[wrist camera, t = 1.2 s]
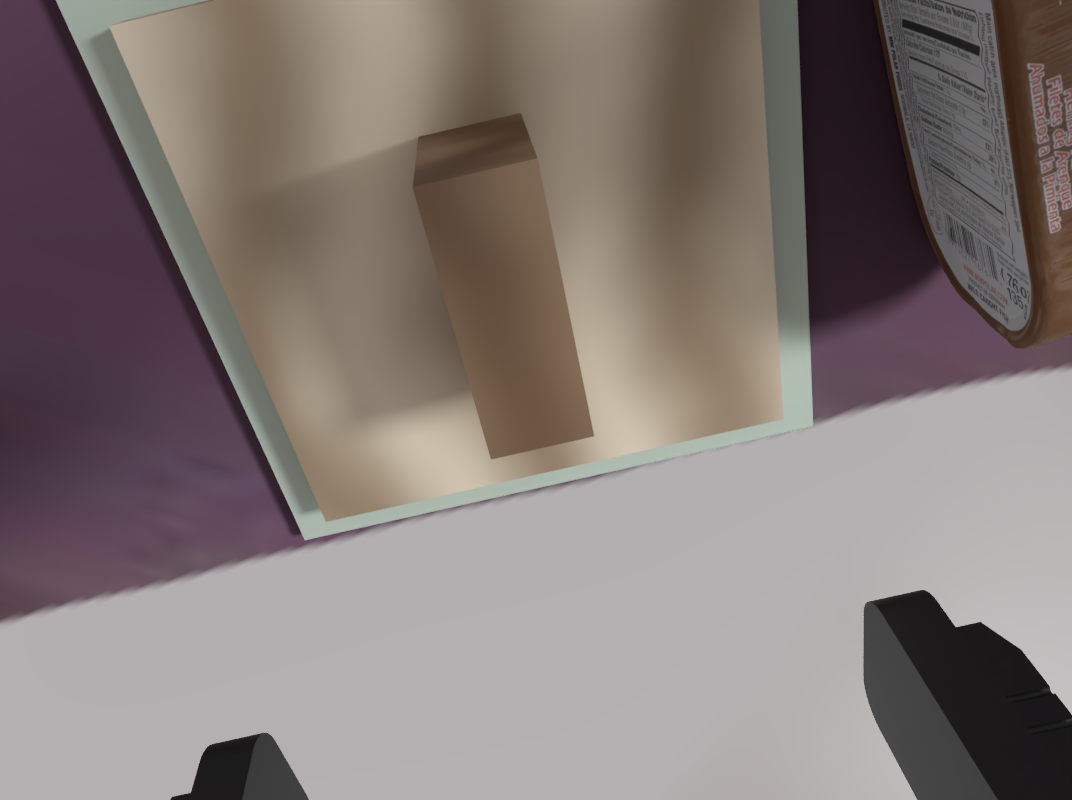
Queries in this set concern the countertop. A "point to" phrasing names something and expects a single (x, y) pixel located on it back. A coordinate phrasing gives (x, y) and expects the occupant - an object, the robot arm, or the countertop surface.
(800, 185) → the mat
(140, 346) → the countertop surface
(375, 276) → the cover board
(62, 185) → the countertop surface
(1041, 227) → the tin
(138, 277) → the countertop surface
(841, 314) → the countertop surface
